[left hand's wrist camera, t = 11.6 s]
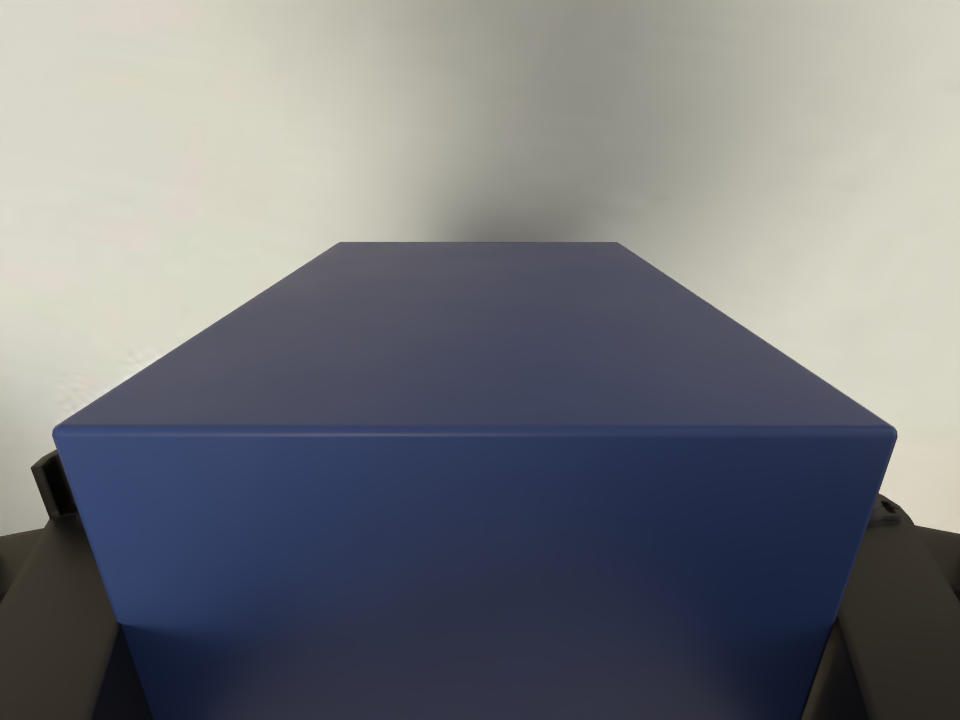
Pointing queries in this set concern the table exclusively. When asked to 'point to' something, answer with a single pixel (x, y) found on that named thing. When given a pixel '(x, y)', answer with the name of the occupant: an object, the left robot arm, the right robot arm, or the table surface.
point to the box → (475, 497)
